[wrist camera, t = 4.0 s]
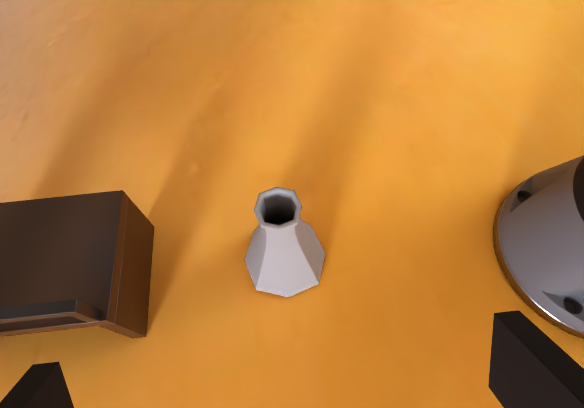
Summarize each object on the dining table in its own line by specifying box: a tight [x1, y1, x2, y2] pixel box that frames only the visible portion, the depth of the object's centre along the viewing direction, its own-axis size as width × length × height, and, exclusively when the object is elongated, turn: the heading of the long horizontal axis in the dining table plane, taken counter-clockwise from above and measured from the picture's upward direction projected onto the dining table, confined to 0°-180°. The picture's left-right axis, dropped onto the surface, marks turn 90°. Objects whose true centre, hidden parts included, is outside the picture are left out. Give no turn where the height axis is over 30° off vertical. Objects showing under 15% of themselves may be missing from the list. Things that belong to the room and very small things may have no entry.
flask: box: [245, 187, 325, 297], centre depth 30 cm, size 7×7×10 cm
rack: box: [0, 190, 154, 338], centre depth 29 cm, size 14×10×10 cm
